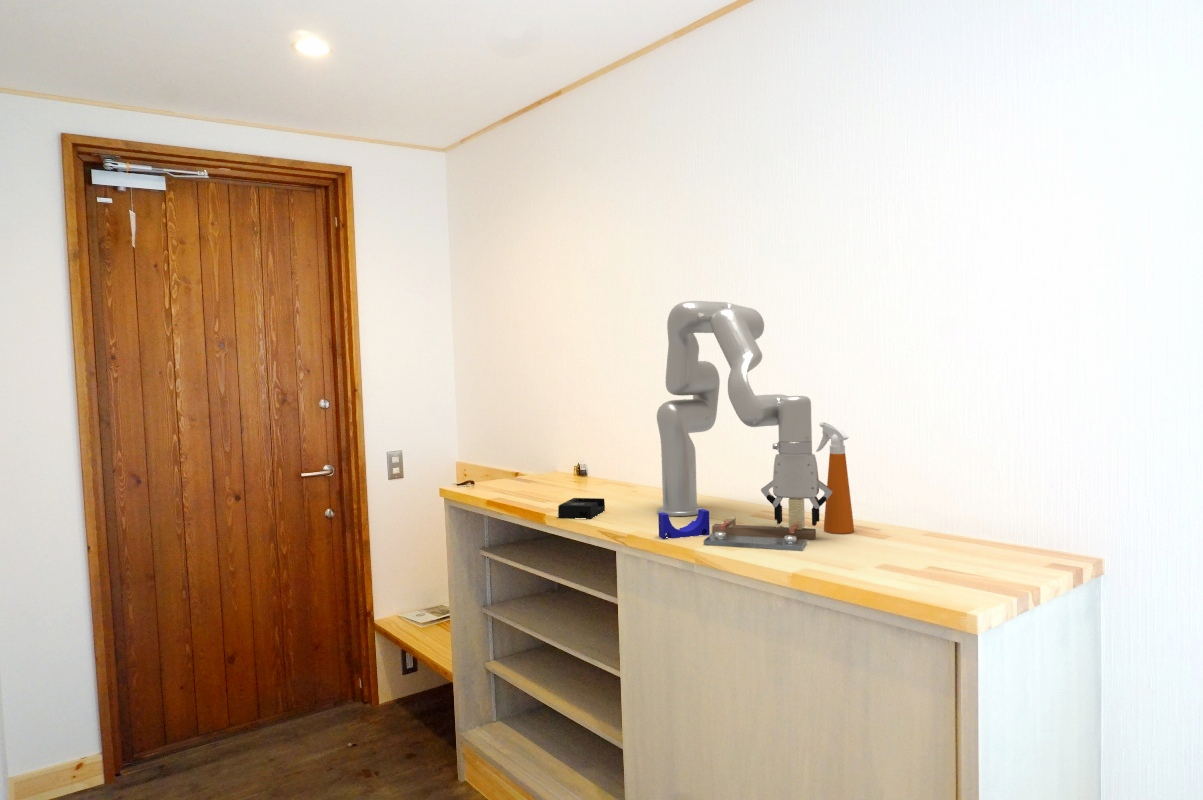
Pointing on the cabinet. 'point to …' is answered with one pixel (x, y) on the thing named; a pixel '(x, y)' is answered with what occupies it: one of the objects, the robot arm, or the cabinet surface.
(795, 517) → the slider
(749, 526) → the beam
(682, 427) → the robot arm
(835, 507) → the spray bottle
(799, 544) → the bolt plate
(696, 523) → the cable clip
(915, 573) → the cabinet surface
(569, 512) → the battery charger
